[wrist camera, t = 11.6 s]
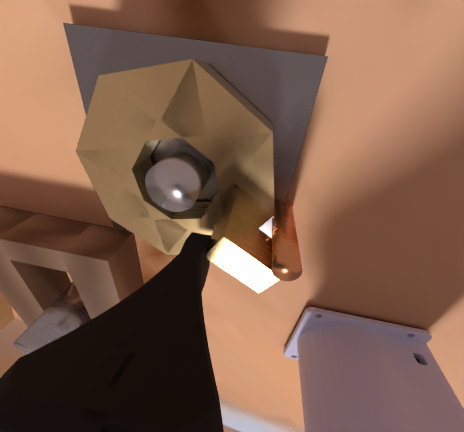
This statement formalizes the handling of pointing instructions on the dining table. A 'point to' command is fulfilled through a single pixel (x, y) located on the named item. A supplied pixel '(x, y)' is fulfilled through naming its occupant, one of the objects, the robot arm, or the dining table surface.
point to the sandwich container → (5, 312)
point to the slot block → (64, 263)
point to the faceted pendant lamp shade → (200, 137)
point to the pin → (54, 321)
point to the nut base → (247, 84)
